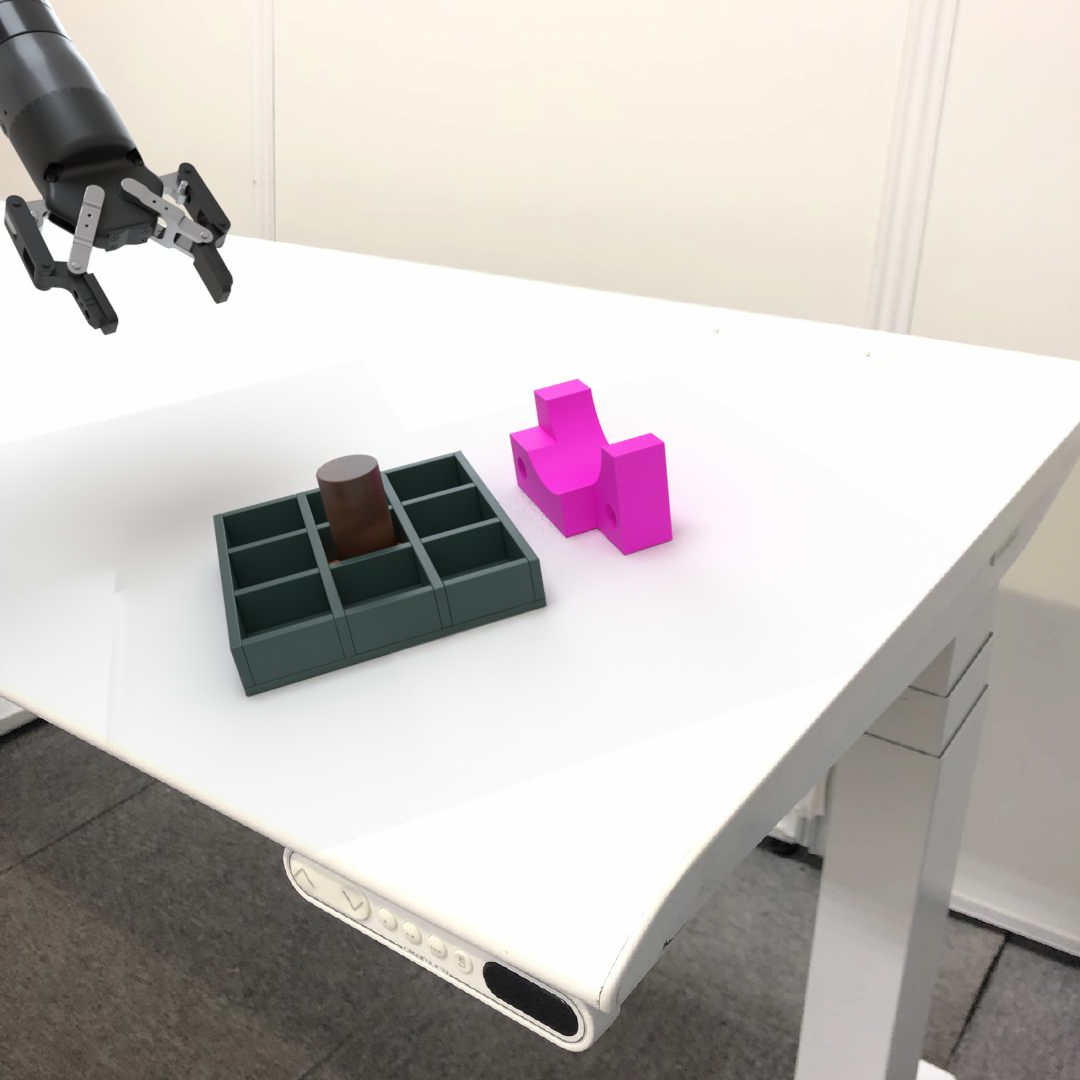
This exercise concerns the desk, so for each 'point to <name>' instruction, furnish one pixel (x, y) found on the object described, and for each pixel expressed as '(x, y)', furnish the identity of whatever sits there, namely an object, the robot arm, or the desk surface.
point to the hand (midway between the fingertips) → (170, 312)
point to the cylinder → (356, 505)
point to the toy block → (592, 472)
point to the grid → (369, 575)
